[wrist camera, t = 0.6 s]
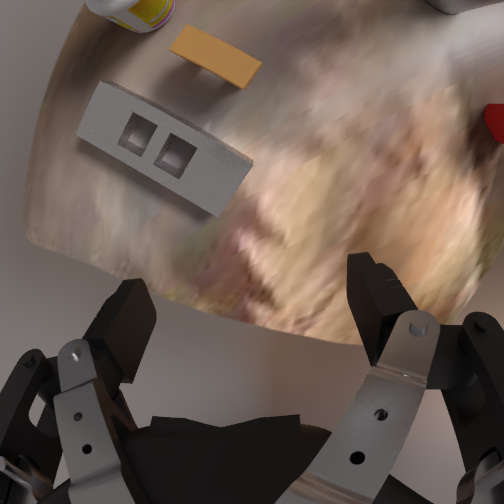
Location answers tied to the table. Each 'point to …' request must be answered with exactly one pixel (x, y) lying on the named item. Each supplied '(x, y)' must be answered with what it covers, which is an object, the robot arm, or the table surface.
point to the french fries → (495, 120)
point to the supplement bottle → (134, 12)
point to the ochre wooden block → (216, 56)
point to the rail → (163, 147)
